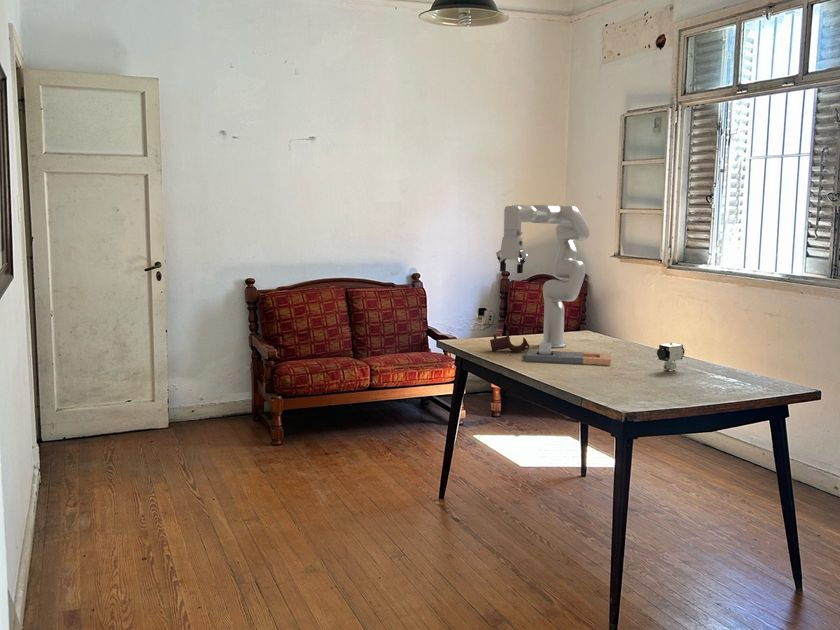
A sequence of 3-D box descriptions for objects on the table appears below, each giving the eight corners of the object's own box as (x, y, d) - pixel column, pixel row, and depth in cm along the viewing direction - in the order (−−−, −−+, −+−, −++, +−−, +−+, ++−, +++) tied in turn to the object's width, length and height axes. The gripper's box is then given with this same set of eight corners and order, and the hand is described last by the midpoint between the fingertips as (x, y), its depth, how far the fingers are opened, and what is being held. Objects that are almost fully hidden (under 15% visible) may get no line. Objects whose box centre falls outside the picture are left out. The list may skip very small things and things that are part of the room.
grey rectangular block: (539, 357, 358) (539, 342, 356) (550, 358, 356) (551, 342, 355) (538, 360, 353) (539, 344, 352) (550, 360, 352) (550, 344, 351)
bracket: (530, 347, 366) (525, 326, 369) (493, 354, 367) (488, 333, 370) (529, 350, 372) (525, 329, 375) (493, 357, 373) (489, 336, 375)
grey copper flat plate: (527, 355, 363) (527, 349, 363) (609, 359, 356) (610, 353, 355) (525, 361, 349) (525, 355, 349) (610, 365, 342) (610, 359, 342)
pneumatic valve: (655, 371, 332) (656, 342, 330) (674, 368, 338) (676, 340, 336) (665, 373, 327) (667, 344, 325) (685, 370, 333) (687, 342, 331)
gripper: (533, 234, 353) (531, 273, 356) (502, 232, 365) (501, 270, 368) (522, 234, 348) (521, 274, 350) (491, 233, 360) (491, 271, 363)
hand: (511, 272), depth 359 cm, fingers open, 9 cm apart
